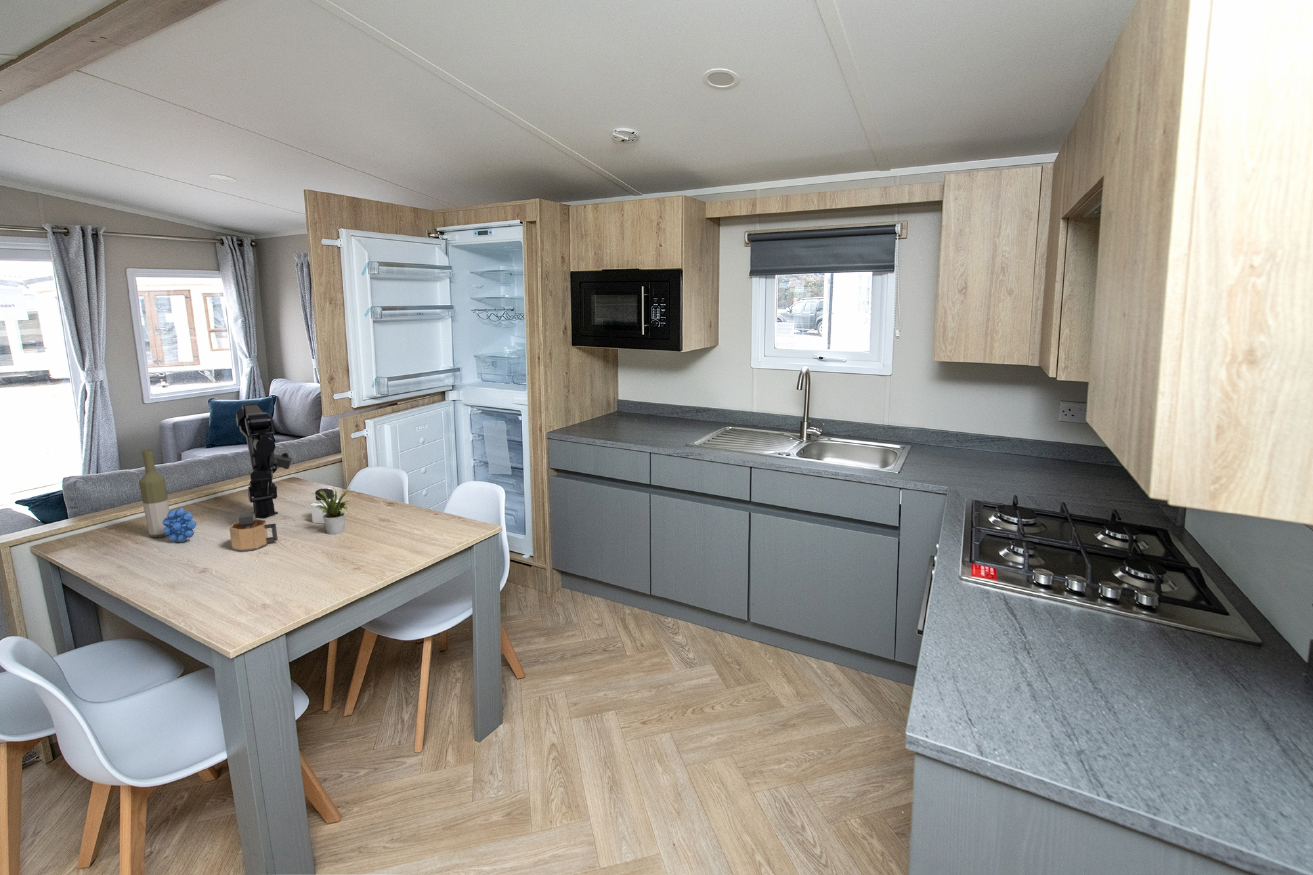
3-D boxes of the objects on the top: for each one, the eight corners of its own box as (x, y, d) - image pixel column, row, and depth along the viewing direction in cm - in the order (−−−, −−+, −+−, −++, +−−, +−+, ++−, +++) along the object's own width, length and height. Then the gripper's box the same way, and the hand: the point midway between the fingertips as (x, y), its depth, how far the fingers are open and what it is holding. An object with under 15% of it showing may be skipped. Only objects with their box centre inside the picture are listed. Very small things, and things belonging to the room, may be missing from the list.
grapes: (208, 538, 220) (203, 504, 217) (192, 545, 213) (187, 511, 211) (176, 537, 221) (170, 503, 218) (159, 544, 214) (154, 510, 212)
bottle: (178, 533, 224) (164, 449, 218) (155, 540, 218) (141, 453, 212) (166, 530, 227) (152, 447, 221) (143, 537, 221) (129, 451, 214)
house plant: (304, 541, 217) (298, 495, 214) (313, 527, 230) (308, 483, 227) (350, 537, 221) (345, 491, 217) (357, 524, 234) (353, 480, 231)
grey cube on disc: (238, 535, 214) (235, 513, 213) (263, 532, 217) (260, 510, 215) (234, 543, 208) (231, 520, 206) (260, 539, 211) (257, 517, 209)
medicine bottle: (329, 524, 234) (326, 492, 231) (312, 523, 235) (308, 491, 233) (342, 518, 241) (339, 487, 238) (325, 516, 242) (322, 485, 240)
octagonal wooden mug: (236, 543, 215) (233, 521, 214) (279, 537, 220) (277, 516, 219) (230, 553, 207) (227, 531, 205) (276, 547, 212) (273, 525, 210)
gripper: (285, 453, 219) (290, 497, 222) (291, 442, 236) (296, 483, 239) (247, 456, 215) (253, 501, 218) (255, 444, 231) (261, 486, 235)
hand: (267, 492), depth 227 cm, fingers open, 9 cm apart
